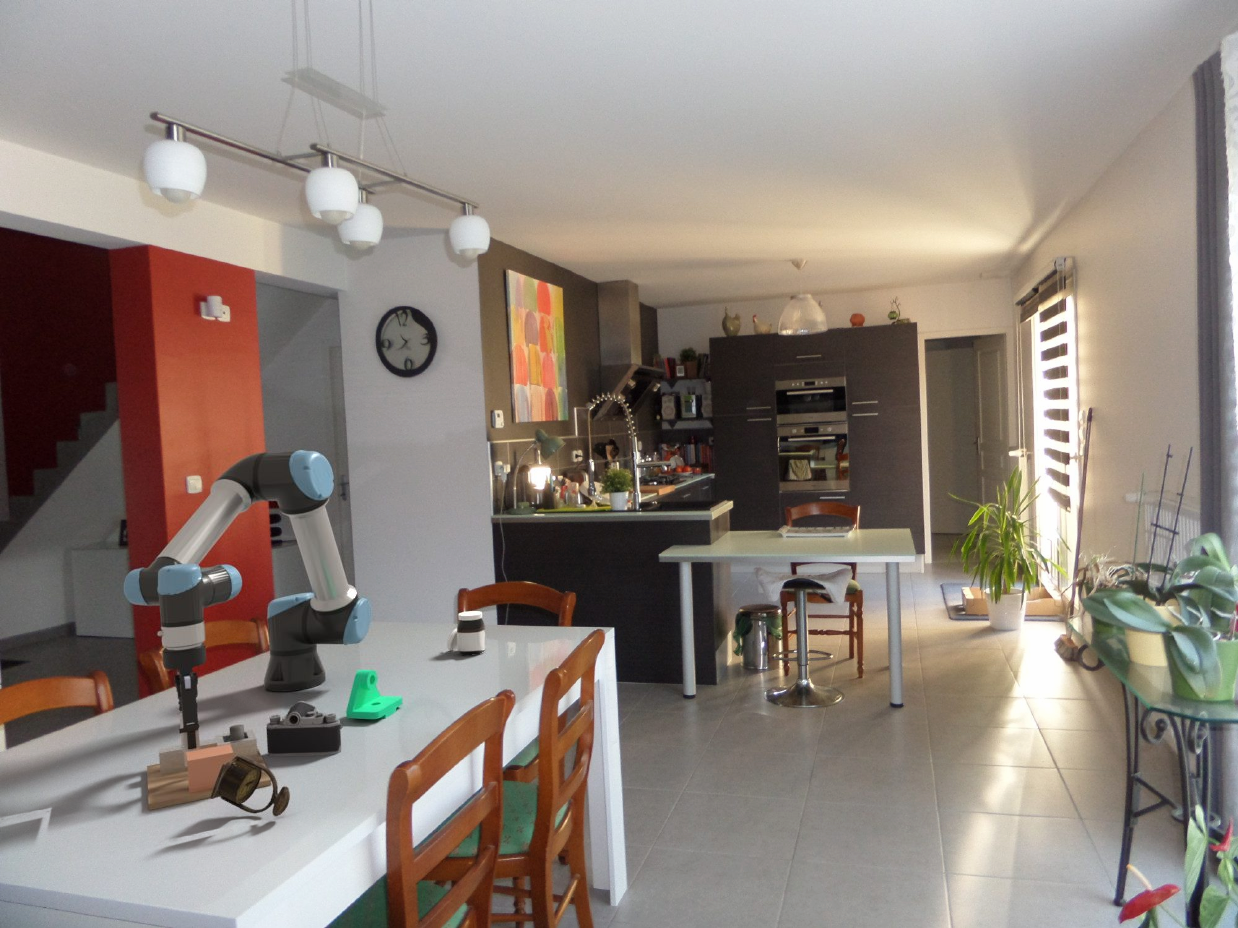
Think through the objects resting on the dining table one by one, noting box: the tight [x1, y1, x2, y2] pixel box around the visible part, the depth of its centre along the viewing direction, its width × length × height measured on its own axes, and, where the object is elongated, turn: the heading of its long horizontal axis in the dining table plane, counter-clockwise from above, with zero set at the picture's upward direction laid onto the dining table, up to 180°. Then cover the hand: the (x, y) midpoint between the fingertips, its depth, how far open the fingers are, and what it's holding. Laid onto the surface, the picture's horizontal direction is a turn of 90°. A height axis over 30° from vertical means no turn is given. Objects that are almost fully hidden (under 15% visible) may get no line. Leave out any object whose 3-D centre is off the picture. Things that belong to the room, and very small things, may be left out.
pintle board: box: [146, 724, 272, 811], centre depth 172 cm, size 22×20×7 cm
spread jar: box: [446, 610, 487, 656], centre depth 264 cm, size 12×11×12 cm
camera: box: [265, 700, 344, 757], centre depth 186 cm, size 16×8×10 cm, turn 87°
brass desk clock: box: [209, 755, 291, 817], centre depth 155 cm, size 7×13×10 cm, turn 95°
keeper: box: [186, 744, 234, 793], centre depth 166 cm, size 6×8×6 cm
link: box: [158, 728, 258, 774], centre depth 178 cm, size 17×7×4 cm, turn 118°
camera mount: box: [345, 669, 404, 720], centre depth 208 cm, size 12×8×10 cm, turn 164°
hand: (191, 753), depth 176 cm, fingers open, 13 cm apart
